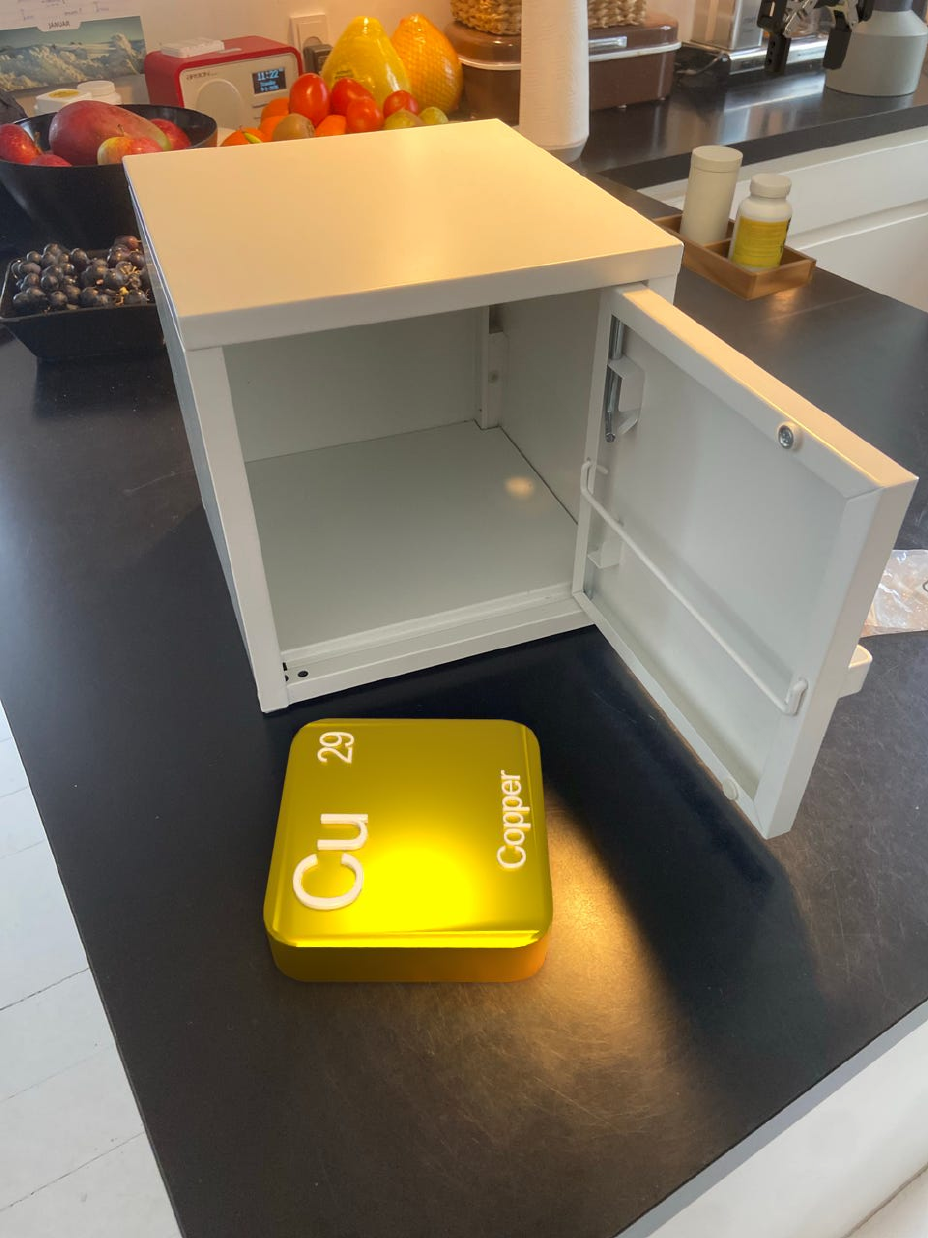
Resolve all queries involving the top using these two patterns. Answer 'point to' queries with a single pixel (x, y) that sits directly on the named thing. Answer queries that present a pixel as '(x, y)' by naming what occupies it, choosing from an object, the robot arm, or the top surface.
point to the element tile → (411, 853)
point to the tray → (735, 278)
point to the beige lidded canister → (710, 193)
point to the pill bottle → (762, 223)
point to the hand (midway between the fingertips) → (802, 72)
